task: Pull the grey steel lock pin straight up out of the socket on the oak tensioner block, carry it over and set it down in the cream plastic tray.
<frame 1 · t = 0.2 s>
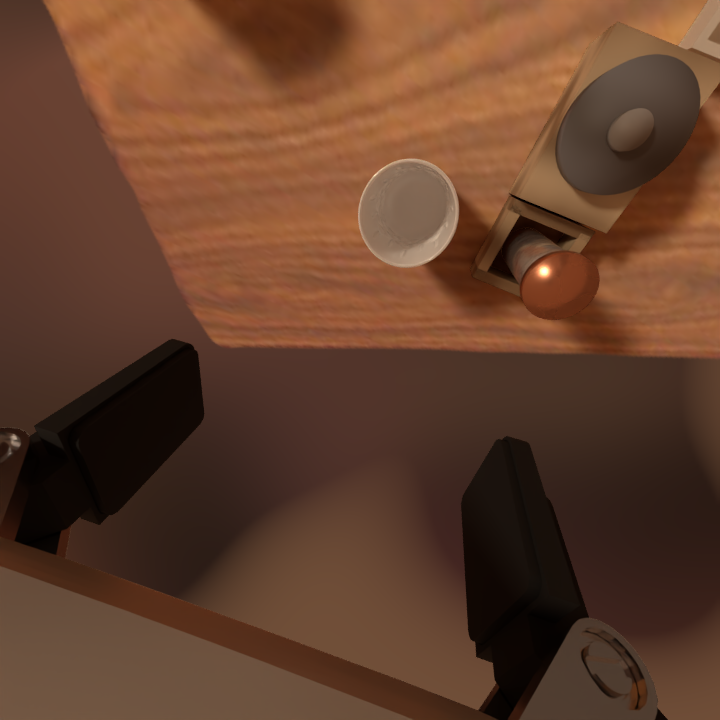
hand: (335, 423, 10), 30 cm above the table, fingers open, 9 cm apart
tensioner block: (560, 186, 30), on the table
white cup: (416, 203, 34), on the table
lock pin: (522, 247, 34), resting in tensioner block
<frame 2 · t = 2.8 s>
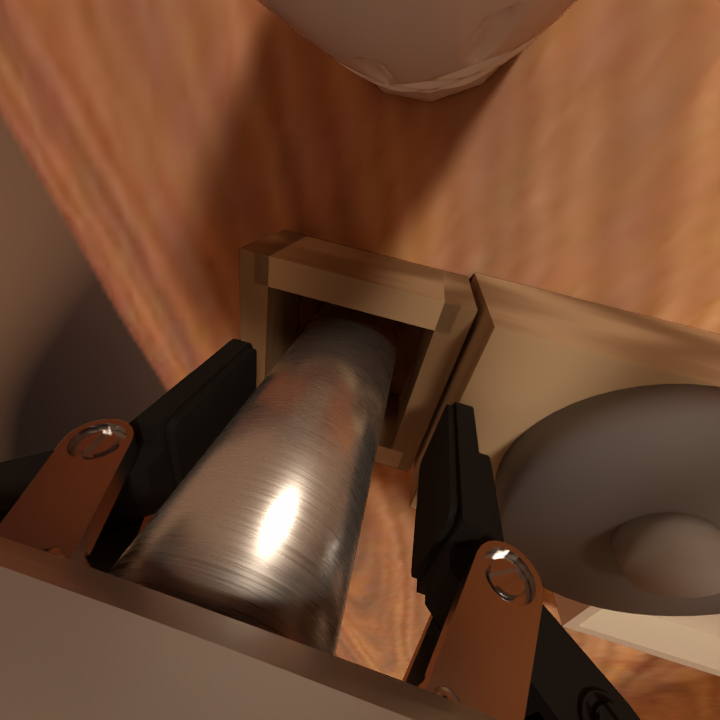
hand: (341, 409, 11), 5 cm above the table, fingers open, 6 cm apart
tray: (714, 565, 18), on the table
tensioner block: (484, 370, 14), on the table
lock pin: (356, 335, 15), resting in tensioner block
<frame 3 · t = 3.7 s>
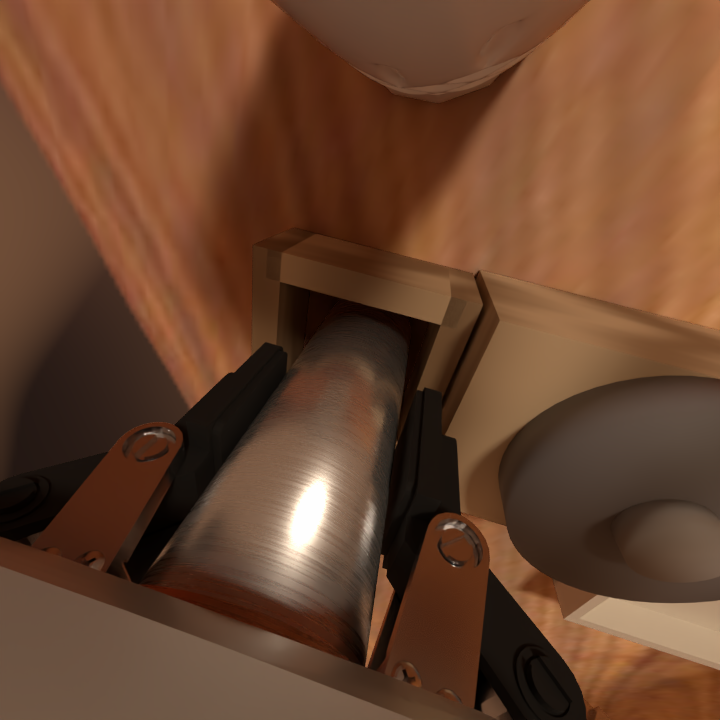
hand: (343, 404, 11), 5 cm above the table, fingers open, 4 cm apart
tray: (714, 559, 18), on the table
tensioner block: (488, 365, 15), on the table
lock pin: (368, 332, 15), resting in tensioner block, touching gripper
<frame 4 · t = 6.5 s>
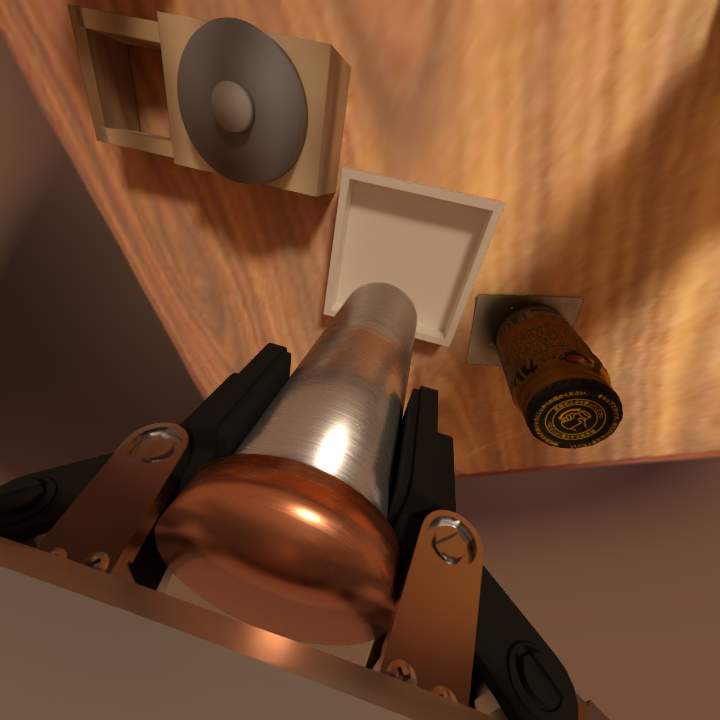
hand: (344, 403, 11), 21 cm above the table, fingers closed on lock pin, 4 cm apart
tray: (404, 259, 29), on the table
tensioner block: (234, 112, 26), on the table
lock pin: (379, 319, 17), point 14 cm above the table, touching gripper
condiment: (519, 331, 30), on the table
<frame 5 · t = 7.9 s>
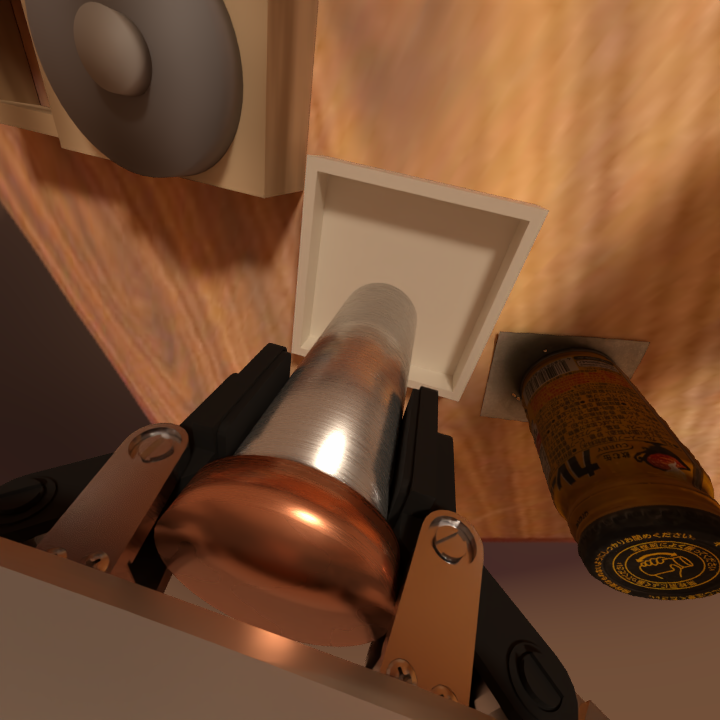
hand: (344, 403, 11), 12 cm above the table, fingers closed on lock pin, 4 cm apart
tray: (399, 282, 21), on the table
tensioner block: (158, 74, 18), on the table
lock pin: (379, 319, 17), point 5 cm above the table, touching gripper
condiment: (552, 380, 22), on the table
when the fingers open (7 cm above the table, at t = 9.1 s): lock pin stays where it is, resting on tray.
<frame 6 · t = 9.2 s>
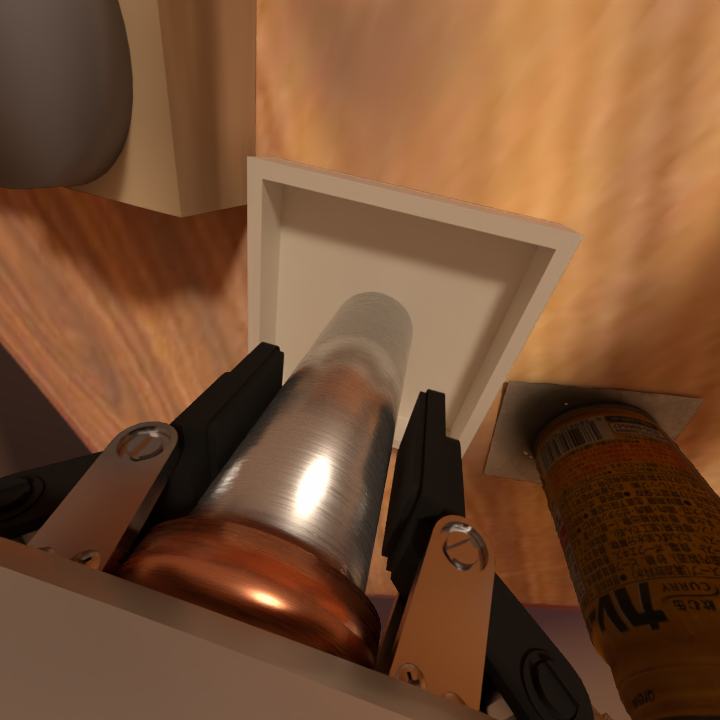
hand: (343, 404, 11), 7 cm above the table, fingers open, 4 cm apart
tray: (381, 319, 16), on the table
tensioner block: (55, 50, 14), on the table
lock pin: (372, 330, 16), point 1 cm above the table, touching tray
condiment: (574, 437, 18), on the table
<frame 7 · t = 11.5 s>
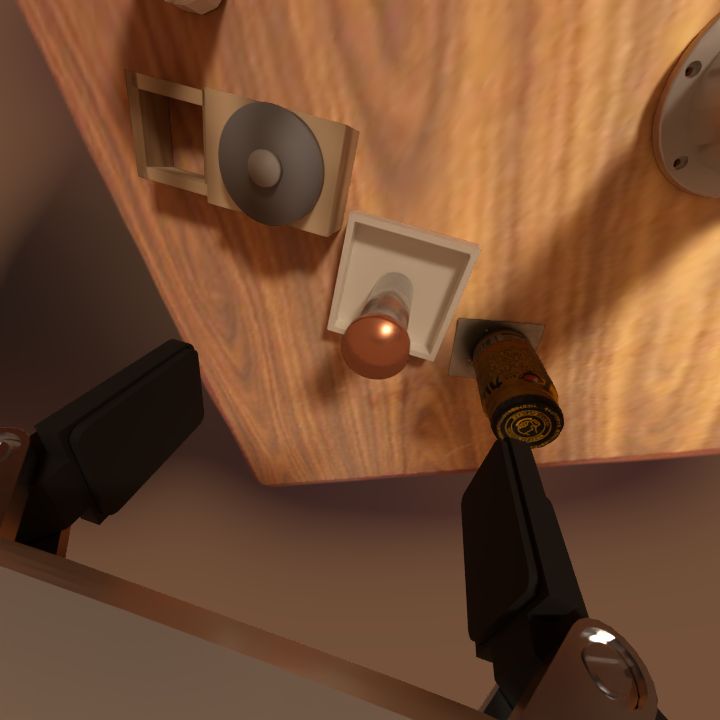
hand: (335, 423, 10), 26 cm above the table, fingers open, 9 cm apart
tray: (397, 286, 34), on the table
tensioner block: (258, 158, 30), on the table
lock pin: (394, 291, 33), point 1 cm above the table, touching tray
condiment: (492, 350, 35), on the table
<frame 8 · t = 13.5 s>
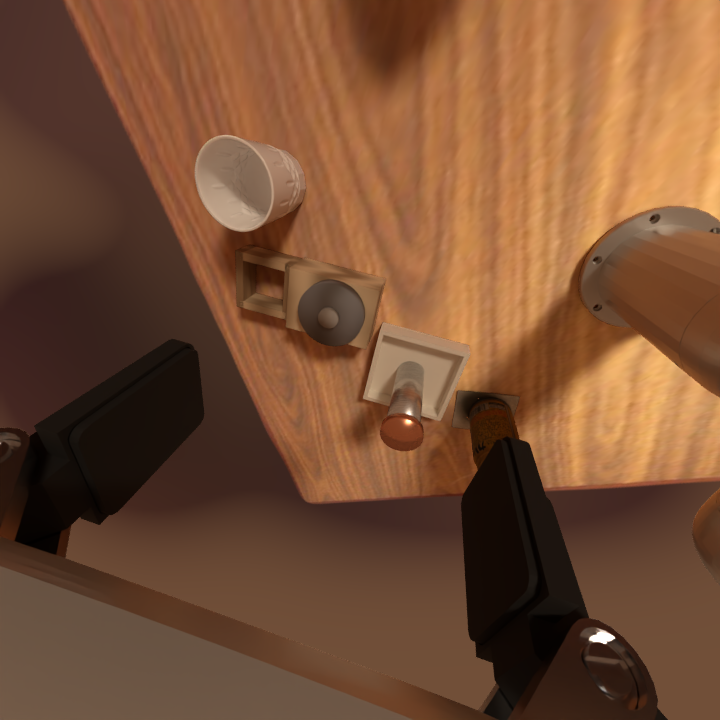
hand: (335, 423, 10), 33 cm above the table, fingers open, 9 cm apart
tray: (413, 368, 47), on the table
tensioner block: (316, 290, 44), on the table
white cup: (280, 182, 38), on the table
lock pin: (410, 373, 47), point 1 cm above the table, touching tray
condiment: (483, 410, 49), on the table
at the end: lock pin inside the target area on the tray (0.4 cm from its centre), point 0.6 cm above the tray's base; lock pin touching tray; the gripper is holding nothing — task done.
